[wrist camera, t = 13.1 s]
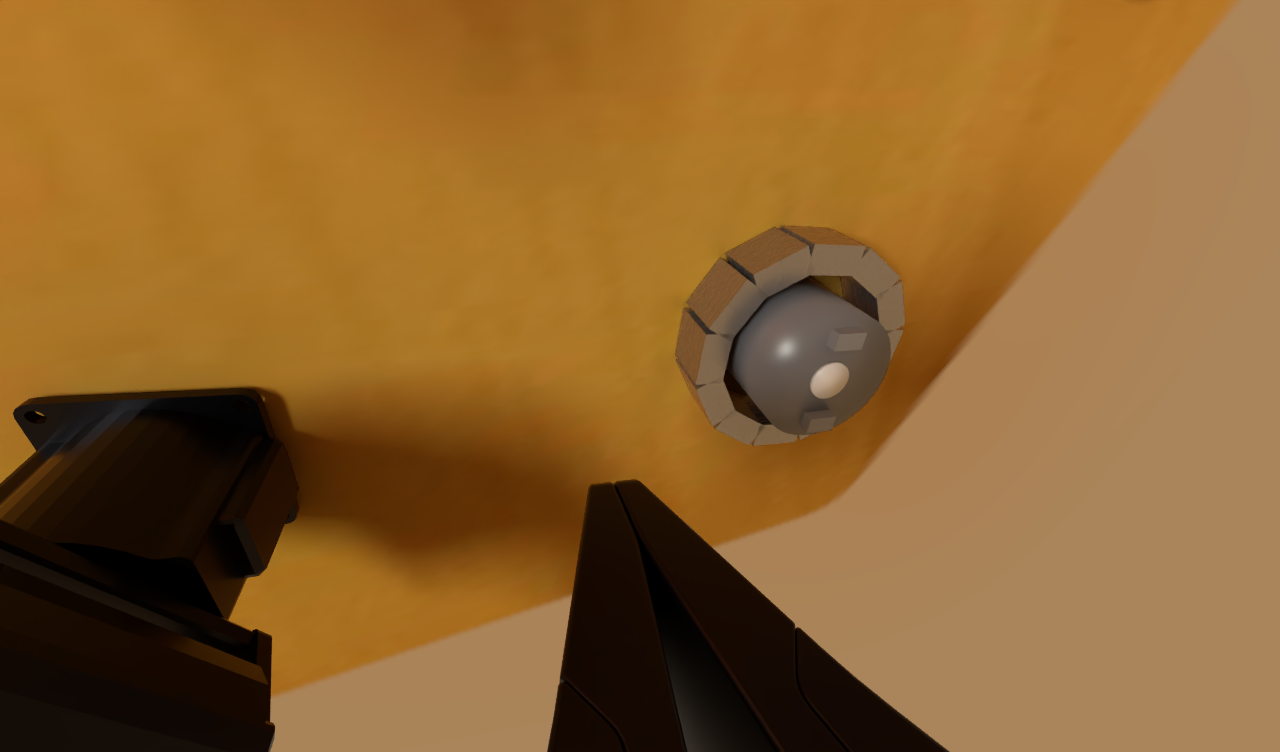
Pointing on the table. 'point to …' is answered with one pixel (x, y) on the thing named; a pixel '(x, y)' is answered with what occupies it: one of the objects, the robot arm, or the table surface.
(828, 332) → the cap
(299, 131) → the table surface
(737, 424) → the segmented ring
